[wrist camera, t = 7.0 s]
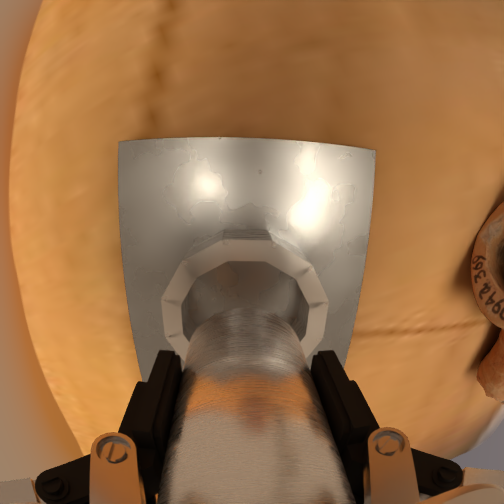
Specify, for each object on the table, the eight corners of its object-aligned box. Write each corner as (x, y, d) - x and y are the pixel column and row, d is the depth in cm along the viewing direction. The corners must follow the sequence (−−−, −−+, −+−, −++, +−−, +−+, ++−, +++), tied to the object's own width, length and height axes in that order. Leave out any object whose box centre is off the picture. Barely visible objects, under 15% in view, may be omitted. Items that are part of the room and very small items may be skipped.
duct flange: (122, 142, 14) (101, 138, 11) (371, 150, 15) (395, 148, 12) (150, 398, 19) (142, 424, 16) (331, 399, 20) (341, 424, 17)
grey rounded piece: (184, 306, 11) (122, 516, 3) (306, 307, 11) (398, 501, 3) (196, 425, 13) (184, 571, 5) (288, 425, 13) (317, 567, 5)
